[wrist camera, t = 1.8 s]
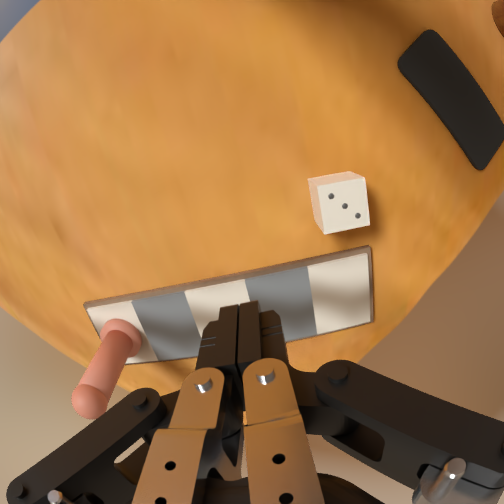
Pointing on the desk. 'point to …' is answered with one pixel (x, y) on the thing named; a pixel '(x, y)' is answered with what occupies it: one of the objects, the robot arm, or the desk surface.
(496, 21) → the disposable coffee cup
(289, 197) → the desk surface
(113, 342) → the pawn
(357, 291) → the board
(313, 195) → the die
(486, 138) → the phone
